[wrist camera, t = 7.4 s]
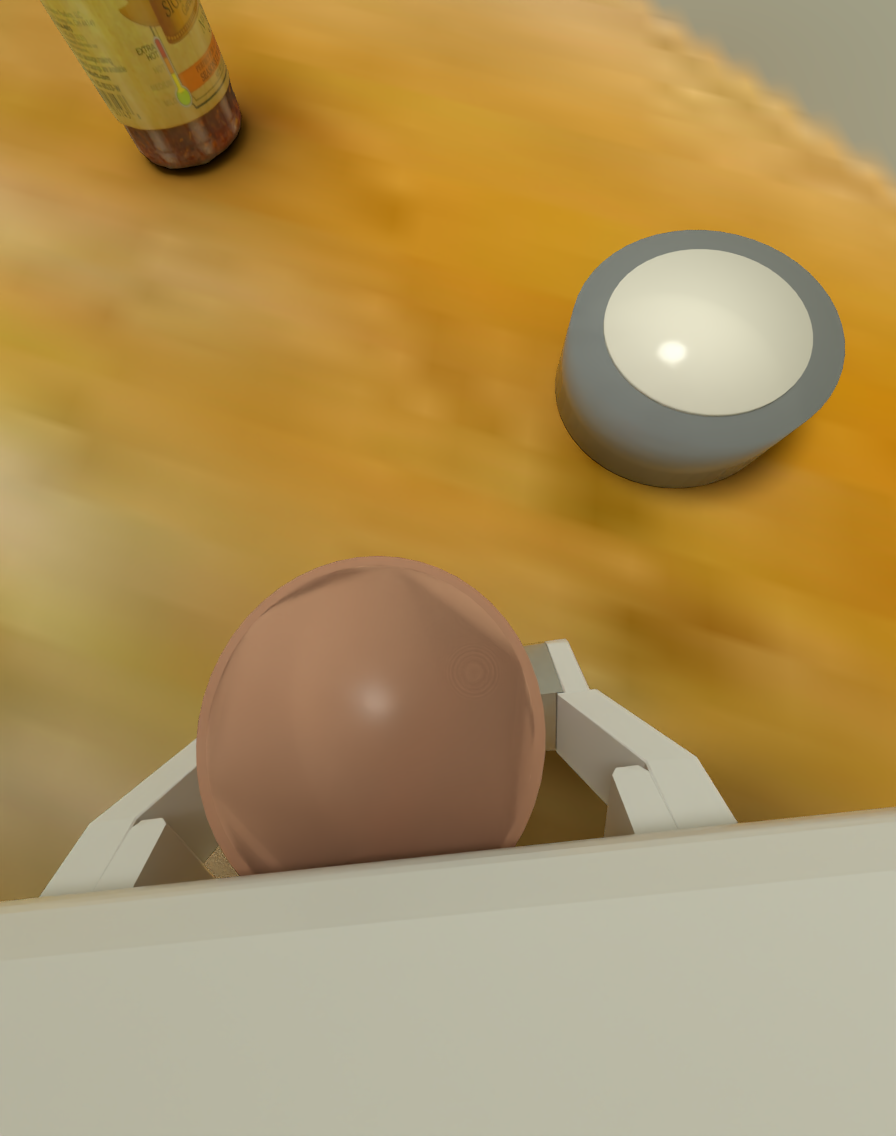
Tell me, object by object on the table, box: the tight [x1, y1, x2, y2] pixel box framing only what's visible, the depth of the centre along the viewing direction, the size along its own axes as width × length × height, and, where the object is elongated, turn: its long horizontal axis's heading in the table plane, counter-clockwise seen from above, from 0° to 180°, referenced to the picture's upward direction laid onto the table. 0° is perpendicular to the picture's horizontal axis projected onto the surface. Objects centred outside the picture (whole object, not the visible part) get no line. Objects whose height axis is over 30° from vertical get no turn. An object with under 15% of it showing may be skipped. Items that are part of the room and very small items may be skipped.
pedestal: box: [555, 230, 845, 488], centre depth 16 cm, size 9×9×3 cm
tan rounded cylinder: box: [196, 556, 546, 876], centre depth 10 cm, size 5×5×9 cm
